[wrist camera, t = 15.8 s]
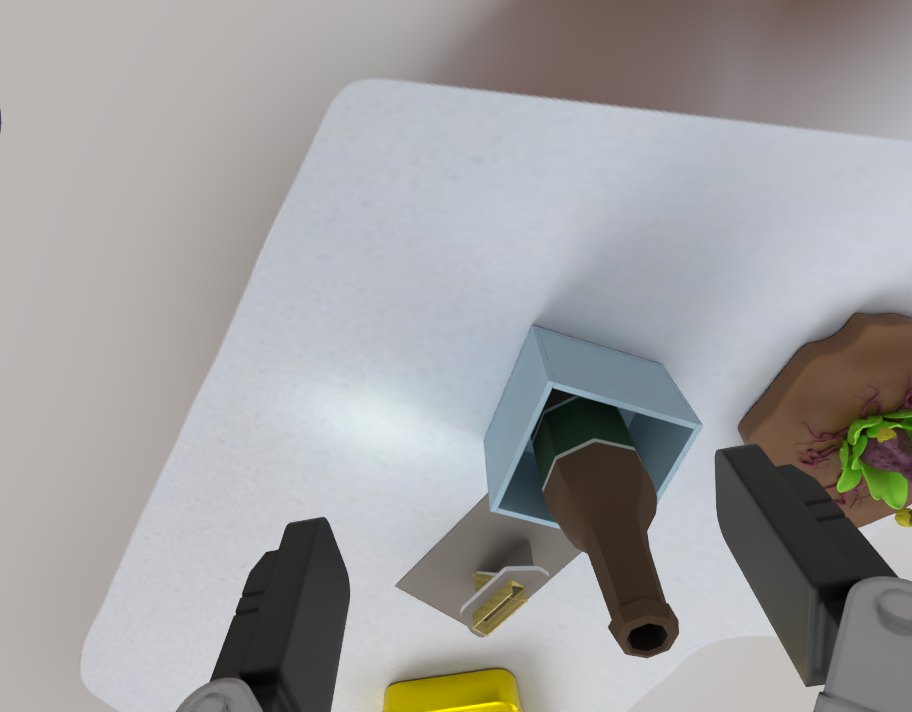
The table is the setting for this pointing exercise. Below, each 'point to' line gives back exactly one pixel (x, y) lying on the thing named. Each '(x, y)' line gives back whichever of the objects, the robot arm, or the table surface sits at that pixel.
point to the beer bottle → (605, 513)
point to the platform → (488, 567)
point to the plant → (846, 417)
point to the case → (591, 376)
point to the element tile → (456, 693)
